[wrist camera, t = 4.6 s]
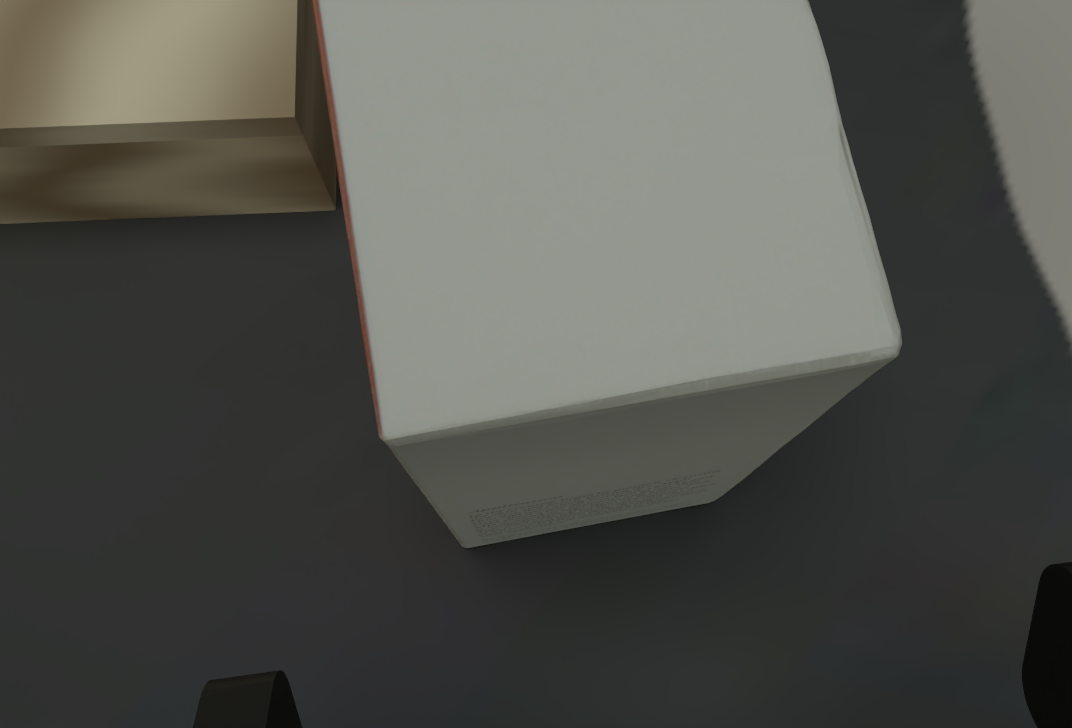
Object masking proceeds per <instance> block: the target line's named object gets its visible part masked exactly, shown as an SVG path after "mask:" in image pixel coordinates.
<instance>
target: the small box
mask: <svg viewBox="0 0 1072 728" xmlns="http://www.w3.org/2000/svg"><path fill="white" fill-rule="evenodd" d="M312 5H313V12H314V19H315V26H316V34H317V41H318V47H319V53H320V60H321V66H322V72H323V79H324V85H325V92H326V98H327V105H328V111H329V118H330V124H331V131H332V137H333V144H334V150H335V157H336V164H337V172H338V180H339V186H340V192H341V198H342V204H343V211H344V217H345V223H346V229H347V235H348V241H349V247H350V254H351V260H352V266H353V272H354V279H355V285H356V292H357V298H358V305H359V313H360V321H361V329H362V337H363V343H364V349H365V355H366V361H367V367H368V373H369V379H370V385H371V391H372V397H373V403H374V409H375V416H376V422H377V428H378V434H379V438H380V439H381V440H382V441H383V442H385V443H386V444H387V446H388V447H389V449H390V450H391V452H392V453H393V454H394V456H395V457H396V458H397V459H398V460H399V462H400V463H401V464H402V466H403V467H404V469H405V470H406V472H407V473H408V474H409V475H410V477H411V478H412V480H413V481H414V482H415V484H416V485H417V486H418V487H419V489H420V490H421V491H422V493H423V494H424V495H425V496H426V498H427V499H428V501H429V502H430V503H431V505H432V506H433V507H434V509H435V510H436V512H437V513H438V514H439V516H440V517H441V518H442V520H443V521H444V523H445V524H446V525H447V526H448V528H449V529H450V530H451V532H452V533H453V535H454V536H455V538H456V539H457V540H458V542H459V543H460V544H461V546H462V547H465V548H471V547H477V546H482V545H487V544H492V543H498V542H503V541H508V540H513V539H519V538H524V537H529V536H535V535H540V534H545V533H550V532H556V531H561V530H566V529H571V528H577V527H582V526H588V525H593V524H598V523H604V522H609V521H615V520H620V519H625V518H631V517H636V516H641V515H646V514H652V513H657V512H662V511H668V510H673V509H678V508H684V507H689V506H695V505H700V504H706V503H710V502H713V501H715V500H717V499H718V498H720V497H721V496H722V495H724V494H725V493H726V492H728V491H729V490H730V489H731V488H733V487H734V486H735V485H736V484H738V483H739V482H740V481H742V480H743V479H744V478H745V477H747V476H748V475H749V474H750V473H751V472H752V471H753V470H755V469H756V468H758V467H759V466H760V465H761V464H762V463H764V462H765V461H766V460H767V459H768V458H769V457H770V456H771V455H773V454H774V453H775V452H776V451H777V450H779V449H780V448H781V447H782V446H784V445H785V444H786V443H788V442H789V441H790V440H791V439H793V438H794V437H795V436H796V435H798V434H799V433H800V432H802V431H803V430H804V429H805V428H807V427H808V426H809V425H810V424H811V423H813V422H814V421H815V420H816V419H817V418H819V417H820V416H821V415H822V414H823V413H825V412H826V411H827V410H828V409H830V408H831V407H832V406H833V405H834V404H835V403H837V402H838V401H839V400H840V399H841V398H843V397H844V396H845V395H846V394H848V393H849V392H850V391H852V390H853V389H854V388H856V387H857V386H859V385H860V384H861V383H862V382H863V381H864V380H865V379H867V378H868V377H869V376H871V375H872V374H873V373H875V372H876V371H877V370H879V369H880V368H881V367H883V366H884V365H886V364H887V363H888V362H890V361H891V360H893V359H894V358H895V357H897V356H898V354H899V351H900V348H901V345H902V340H901V330H900V326H899V323H898V319H897V316H896V313H895V309H894V305H893V301H892V297H891V293H890V289H889V285H888V282H887V278H886V275H885V271H884V268H883V265H882V261H881V258H880V254H879V251H878V247H877V243H876V240H875V236H874V232H873V229H872V225H871V221H870V218H869V214H868V211H867V207H866V204H865V201H864V198H863V194H862V191H861V188H860V184H859V181H858V177H857V174H856V170H855V167H854V163H853V160H852V156H851V153H850V149H849V145H848V142H847V138H846V135H845V132H844V129H843V125H842V121H841V117H840V113H839V108H838V104H837V100H836V95H835V91H834V86H833V82H832V77H831V73H830V68H829V64H828V61H827V57H826V54H825V51H824V47H823V44H822V41H821V37H820V34H819V31H818V28H817V25H816V22H815V19H814V17H813V14H812V11H811V8H810V5H809V2H808V0H312Z"/></svg>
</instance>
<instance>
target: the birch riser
mask: <svg viewBox="0 0 1072 728" xmlns="http://www.w3.org/2000/svg"><path fill="white" fill-rule="evenodd" d="M330 210H336V157H335V150H334V144H333V137H332V131H331V124H330V118H329V111H328V105H327V98H326V92H325V85H324V79H323V72H322V66H321V60H320V53H319V47H318V41H317V34H316V26H315V19H314V12H313V5H312V0H0V224H10V223H34V222H59V221H83V220H108V219H133V218H157V217H182V216H207V215H231V214H256V213H280V212H305V211H330Z"/></svg>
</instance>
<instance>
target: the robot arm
mask: <svg viewBox="0 0 1072 728" xmlns="http://www.w3.org/2000/svg"><path fill="white" fill-rule="evenodd" d="M1022 683H1023V689H1024V694H1025V698H1026V702H1027V705H1028V708H1029V711H1030V713H1031V715H1032V718H1033V720H1034V722H1035V724H1036V726H1037V727H1038V728H1072V562H1067V563H1060V564H1053V565H1049V566H1048V567H1046V568H1045V569H1044V571H1043V572H1042V574H1041V577H1040V581H1039V585H1038V590H1037V595H1036V600H1035V605H1034V610H1033V615H1032V621H1031V626H1030V631H1029V636H1028V641H1027V646H1026V651H1025V656H1024V661H1023V667H1022ZM193 728H302V725H301V722H300V718H299V715H298V712H297V708H296V705H295V701H294V698H293V695H292V691H291V688H290V685H289V682H288V679H287V677H286V675H285V673H284V672H283V671H273V672H266V673H259V674H252V675H245V676H238V677H231V678H223V679H216V680H210V681H208V682H207V683H206V685H205V686H204V689H203V691H202V694H201V698H200V702H199V706H198V710H197V714H196V718H195V722H194V726H193Z"/></svg>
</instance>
